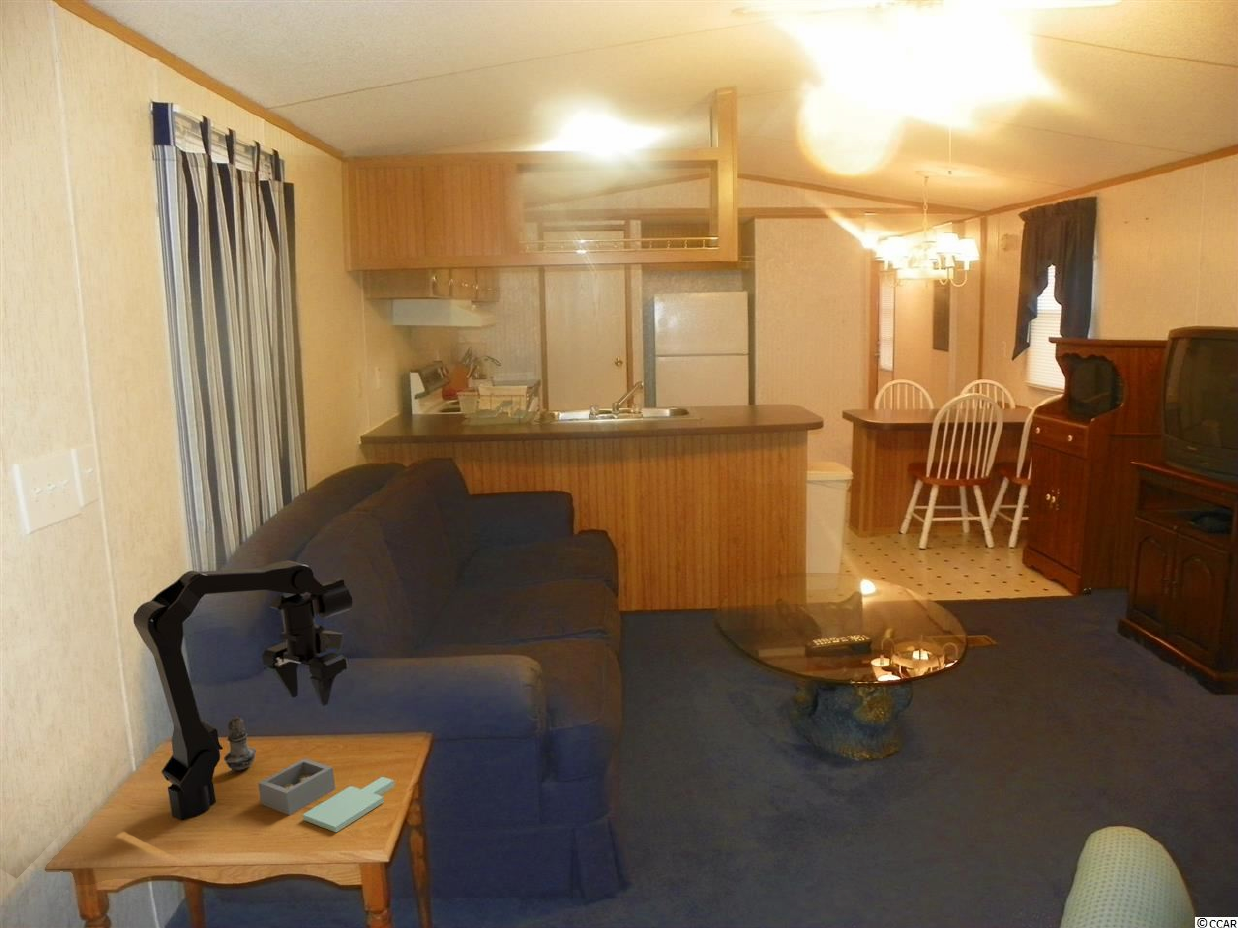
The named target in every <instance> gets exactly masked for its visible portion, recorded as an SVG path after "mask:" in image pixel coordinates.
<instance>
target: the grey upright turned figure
mask: <svg viewBox="0 0 1238 928" xmlns="http://www.w3.org/2000/svg"><path fill="white" fill-rule="evenodd" d="M244 724H245V723H244V720H243V719H242V718H241V717H237V715H236V714H233V716H232V718H231V719H230V720H229V721H227V730H228V737H227V741H229V747H230V750H229V752H228V753H227V754H226V755H224V758H223V760H224V762H226V765H227V766H228V768H230V769H231V770H230V771H229V772H228V773H227V776H229V775H232V774H233V773H235V772H242V771H245V770H247V769H248V768H249V767H250V766H251V765H252V764H253V763H254V762H255V757H256V754H257V750H256V749H255V748H254V747H249V744H248V740H247V736H248V733H247V732H246V731H245V725H244Z"/></svg>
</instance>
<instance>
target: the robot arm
mask: <svg viewBox="0 0 1238 928" xmlns="http://www.w3.org/2000/svg"><path fill="white" fill-rule="evenodd" d="M252 591H253V592H255V591H270V592H275V593H279V594H276V596H275V597H274V599H273V600H272V601H271V603H270V604H269V608H271V609H275V610H278V611H281V613H282V615H281V616H282V622H283V629H284V631H282V632H280V639H283V640H285V641H284V642H280V643H279V644H277V645H274V646H271V647H267V648H266V649H265V650H264V652H263V654H262V661H263V664H264V665H267V668H268V670H271V672H272V673H273V674H274V675H275V677H276V678H277V679H278V681H280V683H281V684H282V686H283V687H284V688H285V690H286V692H288V693H289V695H290V697H292V698H296V697H298V693H299V688H298V687H299V686H298V666H299V664H302V665H306V666H308V669H309V670H308V671H309V673H310V675H311V676H310V677H309V679H310V681H311V684H312V686H313V689H314V690H315V694H316V695H317V697H318V700H319V702H320V704H321V706H323V707H324V706H326V705H328V704H329V702H330V696H331V692H332V687H333V684H334V681H335V679H336V677H337V676H338V674H341V673H343V671H345V670H347V669H348V667H349V666H348V658H347V657H346V656H345V655H343V654H339V653H334V652H328V653H327V649H332V650H333V649H336V650H338V651H339V650H342V644H343V640H344V639H343V638H344V633H342V632H336V631H332V630H331V631H330V630H326V629H325V627H324V626H323V625H321V624H316V620H315V619H316V618H315V615H316V616H318V617H319V618H320V619H326V618H329V617H332V616H336V615H339V614H341V613H344V612H347V611H350V610H351V609H352V607H353V596H352V595H351V593H350V590H349V588H348V586H347V585H346V584H345V580H344V579H343V578H341V577H340V578H339V577H337V578H333V579H331V580H329V581H327V582H323V583H320V582H319V581H318V580H317V579H316V578H315V576H314V572H313V569H312V568H311V567H310V566H309V565H307V564H304V563H300V562H297V561H292V560H282V561H278V562H273V563H270V564H267V565H265V566H263V567H258V568H244V569H243V568H242V569H223V570H207V571H206V570H203V571H198V570H197V571H196V570H189V571H187V572H184V573H183V574H182V575H181V576H180V577H179V578H178V579H177V580H176V581H175V582H173V583H171V584H170V585H169V586H167V587H166V588H164V589H163V590H161V591H159V592H158V593H157V594H156V595H155V596H154V597H153V598H152V599H151V600H149V601H146V602H144V603H142V604H141V605H140V606H139V607H138V608H137V609H136V611H135V613H133V617H132V618H133V624H134V627H135V628H136V630H137V632H138V634H139V636H140V638H141V640H142V641H143V643H144V644H145V645H146V647H147V649H149V651H150V653H151V654H152V656H153V659H154V661H155V663H154V664H155V666H156V669H157V673H158V676H159V679H160V683H161V686H162V691H163V693H164V697H165V699H166V703H167V706H168V710H169V713H170V717H171V720H172V724H173V730H172V732H173V733H172V736H171V747H172V755H171V757H170V758H169V760H168V761H167V762H166V764H165V766H164V767H163V768H162V770H161V774H162V776H163V777H164V779H165V780H166V781H167V782H169V783H171V785H170V786H168V787H167V792H168V799H169V804H170V812H171V816H172V818H174V819H176V820H179V821H185V820H187V819H192V818H197V817H199V816H201V815H203V814H205V813H206V812H208V811H209V810H210V808H211V807H212V806H213V805H215V804H216V803H217V799H216V793H215V786H214V782H213V778H214V774H215V773H214V772H215V769H216V767H217V765H218V763H220V760H221V753H220V752H221V751H220V750H223V746H222V745H221V743H220V741H219V733H218V729H217V728H216V727H214V726H213V725H211V724H210V723H207V722H206V721H204V720H202V719H201V716H200V712H199V708H198V705H197V701H196V698H195V694H194V693H195V692H194V691H193V687H192V683H191V680H190V677H189V676H190V675H189V673H188V669H187V666H186V662H185V659H184V655H183V652H182V651H183V650H182V648H183V641H184V635H185V634H184V622H185V621H186V620H187V619H188V618H189V617H190V616H191V615H192V614H193V612H194V610H195V609H196V608H197V605H198V604H199V602H200V601H201V599H202V598H204V596H205V595H213V594H224V593H225V594H226V593H227V594H228V593H238V592H239V593H240V592H252ZM280 593H283V594H284V593H285V594H290V595H287V596H284V595H282V594H280ZM306 593H308V594H306ZM325 653H326V654H325ZM320 654H324V655H322V656H319V655H320Z"/></svg>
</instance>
